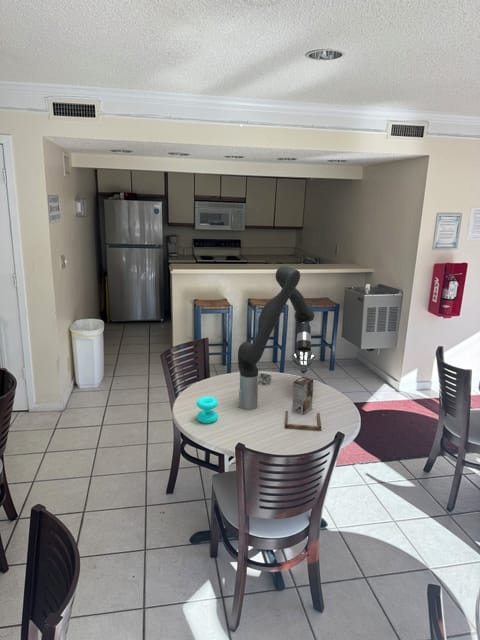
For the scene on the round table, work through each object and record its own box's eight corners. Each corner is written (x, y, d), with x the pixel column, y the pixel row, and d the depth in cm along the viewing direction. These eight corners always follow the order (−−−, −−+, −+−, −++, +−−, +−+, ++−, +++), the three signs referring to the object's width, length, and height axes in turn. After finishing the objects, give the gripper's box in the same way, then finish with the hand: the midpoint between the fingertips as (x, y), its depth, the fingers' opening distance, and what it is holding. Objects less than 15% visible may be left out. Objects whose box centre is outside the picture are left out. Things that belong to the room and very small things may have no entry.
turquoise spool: (192, 401, 203) (204, 393, 212) (192, 421, 206) (204, 412, 214) (210, 406, 198) (221, 398, 207) (210, 426, 201) (221, 417, 209)
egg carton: (269, 386, 247) (270, 379, 246) (256, 384, 249) (256, 378, 247) (271, 378, 257) (272, 372, 256) (259, 377, 259) (259, 371, 258)
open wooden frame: (284, 428, 200) (285, 424, 200) (285, 414, 214) (285, 410, 213) (321, 430, 198) (321, 427, 198) (319, 416, 212) (319, 413, 211)
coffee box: (301, 405, 223) (302, 375, 219) (312, 409, 219) (314, 379, 215) (291, 411, 217) (293, 381, 212) (302, 415, 213) (304, 384, 208)
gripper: (291, 338, 228) (290, 369, 220) (317, 339, 227) (317, 370, 218) (291, 345, 235) (290, 375, 226) (316, 346, 233) (316, 376, 225)
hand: (303, 372), depth 222 cm, fingers closed
